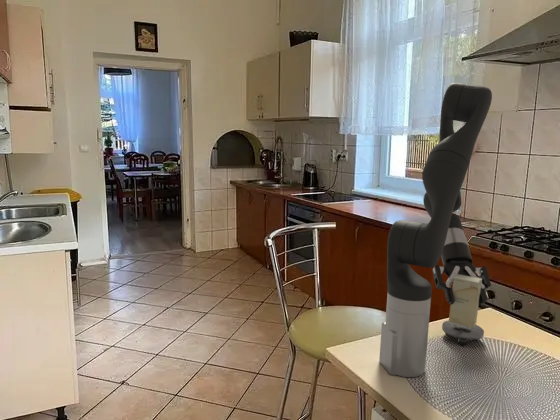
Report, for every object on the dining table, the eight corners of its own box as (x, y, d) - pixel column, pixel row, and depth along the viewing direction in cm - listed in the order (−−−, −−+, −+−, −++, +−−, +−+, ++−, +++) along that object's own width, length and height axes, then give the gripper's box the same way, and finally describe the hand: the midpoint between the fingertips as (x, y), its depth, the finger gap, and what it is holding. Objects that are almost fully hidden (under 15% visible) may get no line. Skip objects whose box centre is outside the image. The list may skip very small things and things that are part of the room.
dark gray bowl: (455, 348, 108) (456, 337, 107) (434, 331, 117) (435, 320, 117) (491, 346, 109) (492, 335, 109) (467, 329, 119) (468, 319, 119)
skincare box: (448, 322, 113) (452, 277, 111) (452, 316, 116) (456, 273, 114) (474, 328, 109) (478, 282, 107) (477, 322, 113) (482, 278, 111)
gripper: (432, 240, 117) (444, 296, 107) (485, 241, 117) (502, 298, 107) (424, 254, 123) (435, 308, 113) (474, 255, 123) (489, 310, 113)
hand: (467, 303), depth 110 cm, fingers closed on skincare box, 7 cm apart
